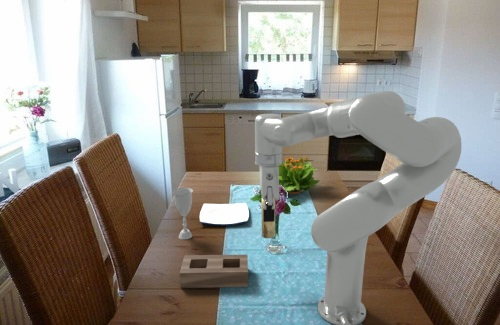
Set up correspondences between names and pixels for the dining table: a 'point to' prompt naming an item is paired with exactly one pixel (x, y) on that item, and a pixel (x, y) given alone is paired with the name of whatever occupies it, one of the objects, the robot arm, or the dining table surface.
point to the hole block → (214, 271)
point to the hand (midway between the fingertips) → (268, 217)
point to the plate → (224, 214)
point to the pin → (267, 225)
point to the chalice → (183, 208)
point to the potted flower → (296, 175)
